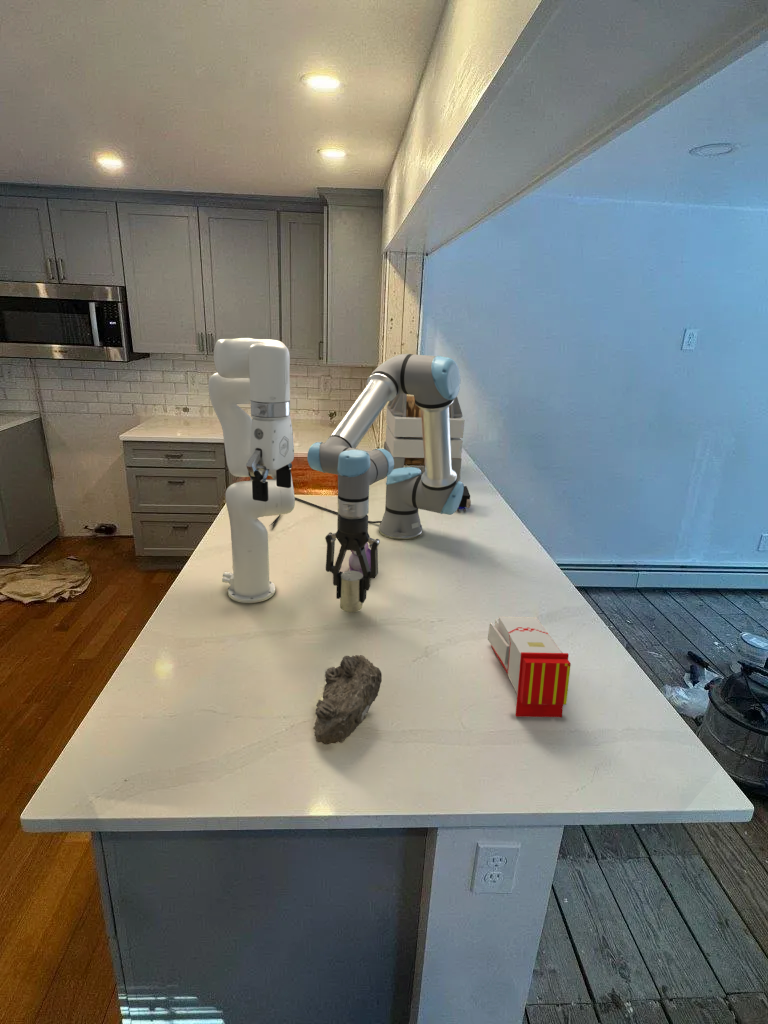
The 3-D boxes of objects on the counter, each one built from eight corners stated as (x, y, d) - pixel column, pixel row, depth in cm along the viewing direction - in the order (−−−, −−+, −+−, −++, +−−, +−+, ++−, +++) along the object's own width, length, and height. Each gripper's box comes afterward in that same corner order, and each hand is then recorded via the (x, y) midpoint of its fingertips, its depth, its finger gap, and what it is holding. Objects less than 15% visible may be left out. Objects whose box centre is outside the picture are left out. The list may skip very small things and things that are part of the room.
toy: (534, 602, 136) (579, 659, 107) (529, 653, 139) (572, 723, 110) (484, 601, 136) (516, 658, 107) (480, 652, 139) (510, 722, 109)
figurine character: (470, 516, 223) (465, 500, 237) (473, 499, 220) (467, 484, 233) (453, 516, 223) (449, 500, 236) (455, 498, 220) (451, 483, 233)
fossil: (318, 656, 121) (374, 625, 116) (346, 686, 123) (402, 656, 118) (294, 738, 101) (359, 705, 96) (328, 771, 104) (393, 740, 99)
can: (366, 604, 148) (367, 573, 145) (355, 614, 143) (356, 582, 140) (347, 599, 150) (347, 568, 147) (336, 608, 146) (336, 577, 143)
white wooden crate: (382, 463, 289) (386, 382, 275) (445, 464, 293) (451, 384, 279) (390, 482, 257) (394, 392, 243) (460, 483, 261) (468, 394, 247)
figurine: (354, 583, 162) (355, 534, 157) (340, 569, 171) (341, 522, 166) (383, 577, 167) (385, 530, 161) (368, 563, 175) (369, 518, 170)
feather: (288, 507, 224) (291, 503, 223) (271, 531, 197) (274, 527, 197) (285, 505, 224) (287, 501, 223) (267, 528, 197) (269, 524, 197)
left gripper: (265, 418, 101) (268, 509, 107) (307, 405, 117) (307, 484, 122) (228, 414, 103) (233, 503, 109) (274, 401, 119) (276, 480, 125)
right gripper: (311, 514, 137) (311, 599, 145) (386, 524, 132) (382, 611, 141) (321, 504, 143) (322, 586, 151) (393, 513, 139) (390, 597, 147)
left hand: (272, 493), depth 116 cm, fingers open, 9 cm apart
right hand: (351, 598), depth 146 cm, fingers closed on can, 6 cm apart
